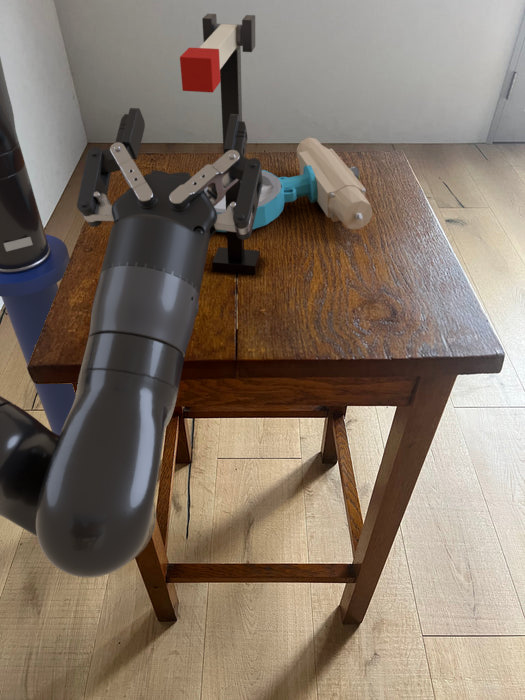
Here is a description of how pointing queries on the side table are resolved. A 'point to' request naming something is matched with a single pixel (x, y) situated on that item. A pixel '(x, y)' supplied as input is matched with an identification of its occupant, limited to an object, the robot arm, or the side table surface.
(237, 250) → the lever post
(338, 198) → the butterfly valve
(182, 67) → the lever
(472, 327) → the side table surface
